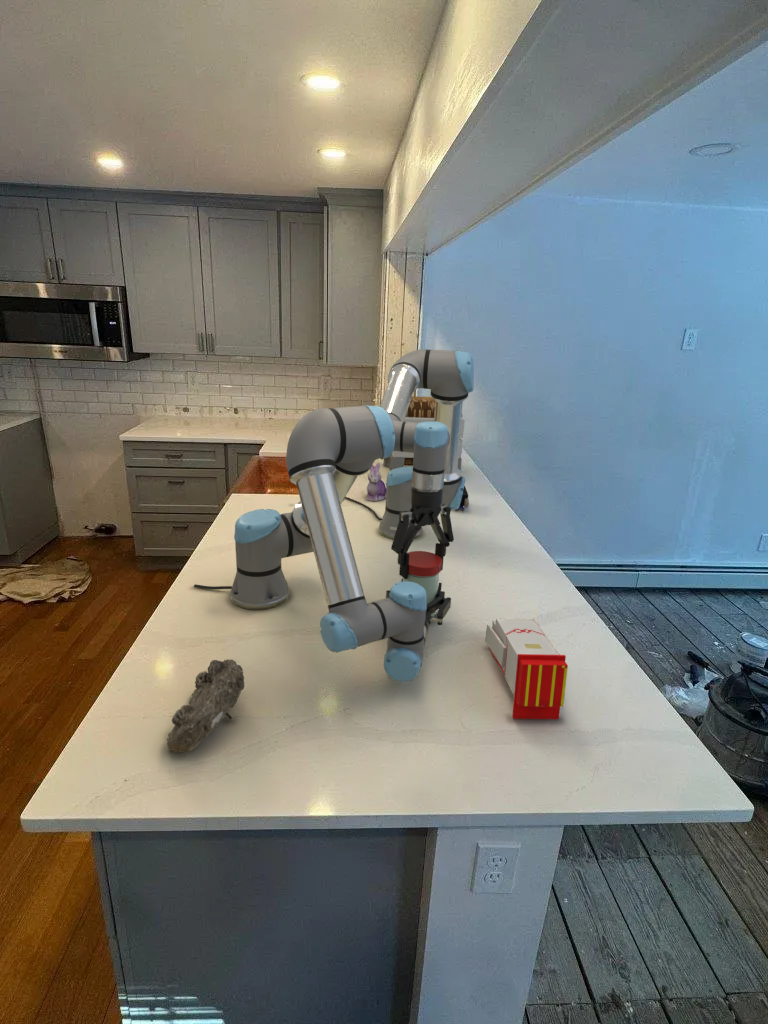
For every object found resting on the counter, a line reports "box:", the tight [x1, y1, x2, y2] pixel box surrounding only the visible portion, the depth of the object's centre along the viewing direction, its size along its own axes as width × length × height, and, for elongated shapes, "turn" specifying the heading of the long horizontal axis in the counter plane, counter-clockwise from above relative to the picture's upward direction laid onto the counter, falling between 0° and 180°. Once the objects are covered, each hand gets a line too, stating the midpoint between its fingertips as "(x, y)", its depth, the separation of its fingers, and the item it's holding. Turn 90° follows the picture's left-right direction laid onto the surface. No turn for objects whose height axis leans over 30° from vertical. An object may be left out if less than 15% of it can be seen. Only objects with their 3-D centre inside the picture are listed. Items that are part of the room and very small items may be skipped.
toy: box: [484, 617, 569, 720], centre depth 122 cm, size 12×13×30 cm
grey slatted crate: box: [383, 395, 465, 472], centre depth 268 cm, size 34×33×41 cm
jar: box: [402, 573, 440, 624], centre depth 144 cm, size 9×9×16 cm
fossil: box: [166, 658, 245, 754], centre depth 106 cm, size 22×10×15 cm
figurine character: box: [455, 485, 470, 512], centre depth 229 cm, size 7×8×15 cm
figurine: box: [365, 462, 386, 502], centre depth 233 cm, size 9×10×15 cm
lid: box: [407, 550, 443, 577], centre depth 142 cm, size 10×10×2 cm
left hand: (421, 585), depth 149 cm, fingers closed on jar, 9 cm apart
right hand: (421, 572), depth 143 cm, fingers closed on lid, 10 cm apart
